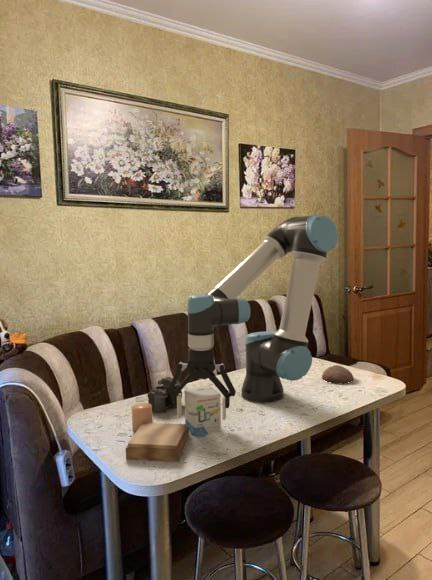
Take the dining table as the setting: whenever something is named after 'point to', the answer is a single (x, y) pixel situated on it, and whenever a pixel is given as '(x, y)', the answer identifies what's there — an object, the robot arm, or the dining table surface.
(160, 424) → the stand
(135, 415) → the peach domed cylinder
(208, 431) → the ink box
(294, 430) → the dining table surface
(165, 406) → the camera
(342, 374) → the decorative stone
